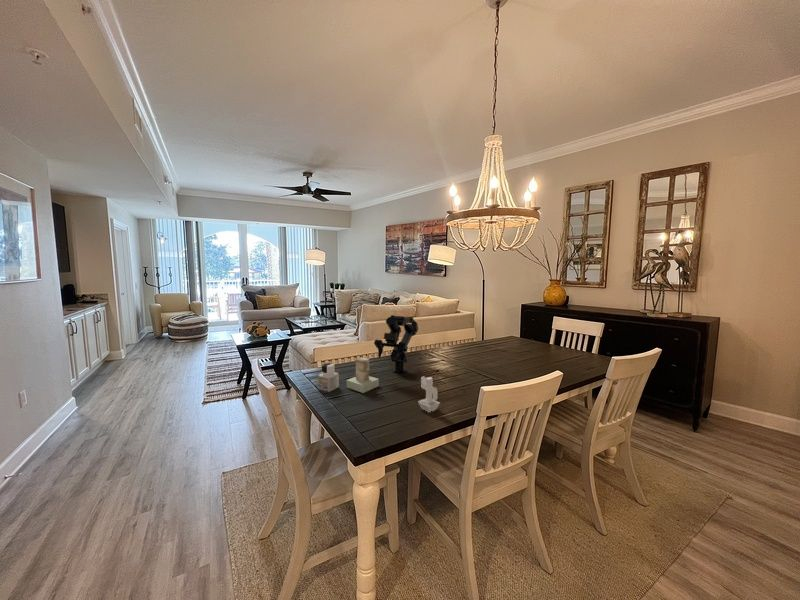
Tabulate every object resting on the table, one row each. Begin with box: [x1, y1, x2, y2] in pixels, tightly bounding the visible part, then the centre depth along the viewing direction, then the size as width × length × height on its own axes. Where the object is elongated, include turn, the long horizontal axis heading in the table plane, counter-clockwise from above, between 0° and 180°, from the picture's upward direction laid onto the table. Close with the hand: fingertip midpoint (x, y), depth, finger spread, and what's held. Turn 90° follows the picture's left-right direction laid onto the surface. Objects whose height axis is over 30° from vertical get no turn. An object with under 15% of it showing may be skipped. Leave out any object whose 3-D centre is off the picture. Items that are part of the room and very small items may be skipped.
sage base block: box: [346, 375, 380, 394], centre depth 177 cm, size 12×12×4 cm
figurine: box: [417, 376, 441, 414], centre depth 150 cm, size 7×9×15 cm
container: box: [317, 362, 340, 393], centre depth 175 cm, size 8×8×13 cm
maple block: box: [355, 357, 370, 382], centre depth 176 cm, size 5×5×11 cm
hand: (386, 358), depth 182 cm, fingers open, 9 cm apart
